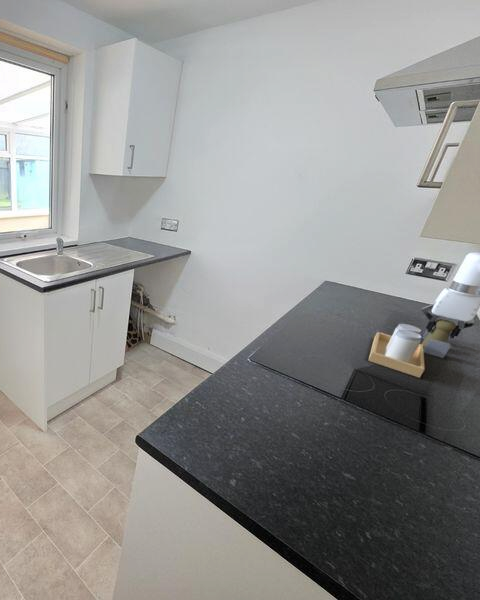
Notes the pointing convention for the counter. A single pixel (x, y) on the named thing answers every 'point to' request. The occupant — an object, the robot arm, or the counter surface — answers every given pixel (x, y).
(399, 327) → the cylinder
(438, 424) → the counter surface
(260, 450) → the counter surface
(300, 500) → the counter surface
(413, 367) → the shaker tray
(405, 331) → the salt shaker
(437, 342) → the grey slab front
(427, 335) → the grey slab back
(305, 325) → the counter surface
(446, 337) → the cork
